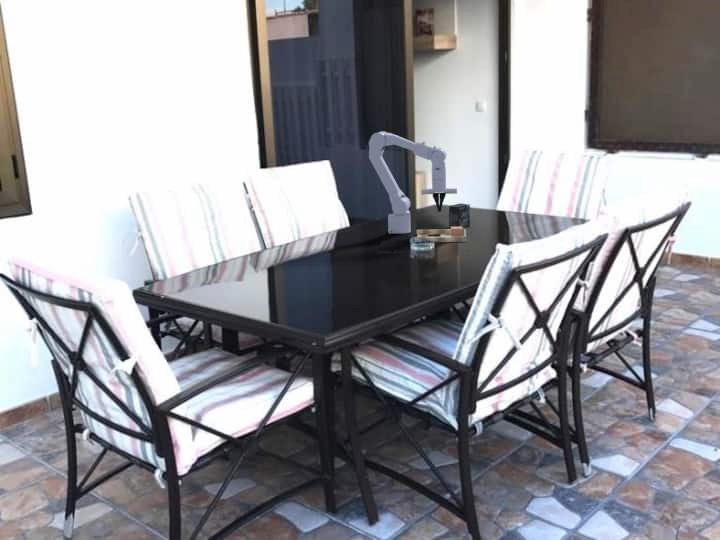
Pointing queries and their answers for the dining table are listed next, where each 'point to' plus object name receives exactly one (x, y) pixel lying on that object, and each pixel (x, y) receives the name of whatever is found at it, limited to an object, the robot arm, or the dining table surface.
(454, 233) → the block
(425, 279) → the dining table surface
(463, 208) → the box
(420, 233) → the tray
